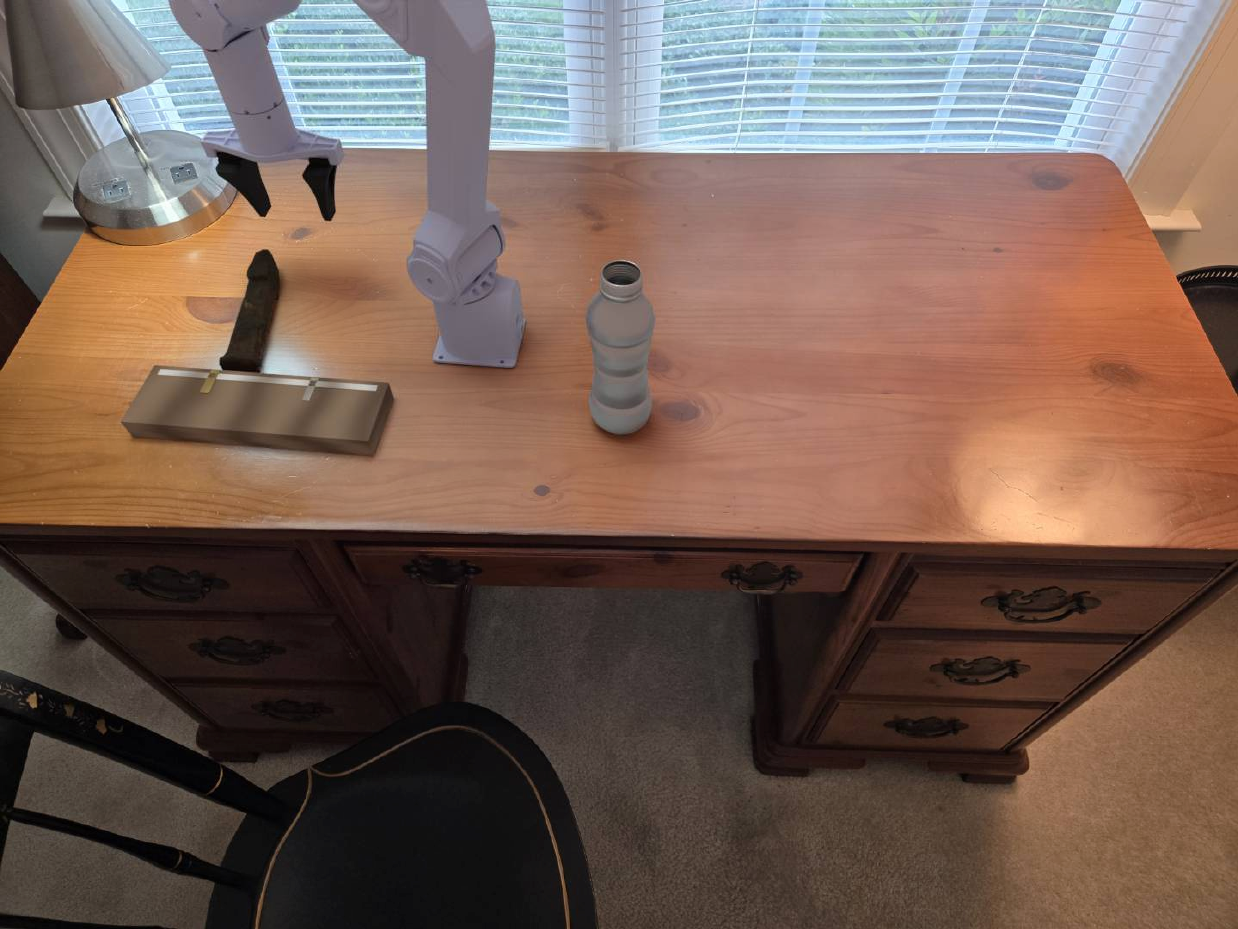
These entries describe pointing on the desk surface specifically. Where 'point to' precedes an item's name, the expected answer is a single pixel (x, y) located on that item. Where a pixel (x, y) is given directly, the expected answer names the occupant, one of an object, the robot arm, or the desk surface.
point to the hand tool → (253, 315)
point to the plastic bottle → (620, 349)
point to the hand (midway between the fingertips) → (298, 213)
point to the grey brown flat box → (260, 410)
